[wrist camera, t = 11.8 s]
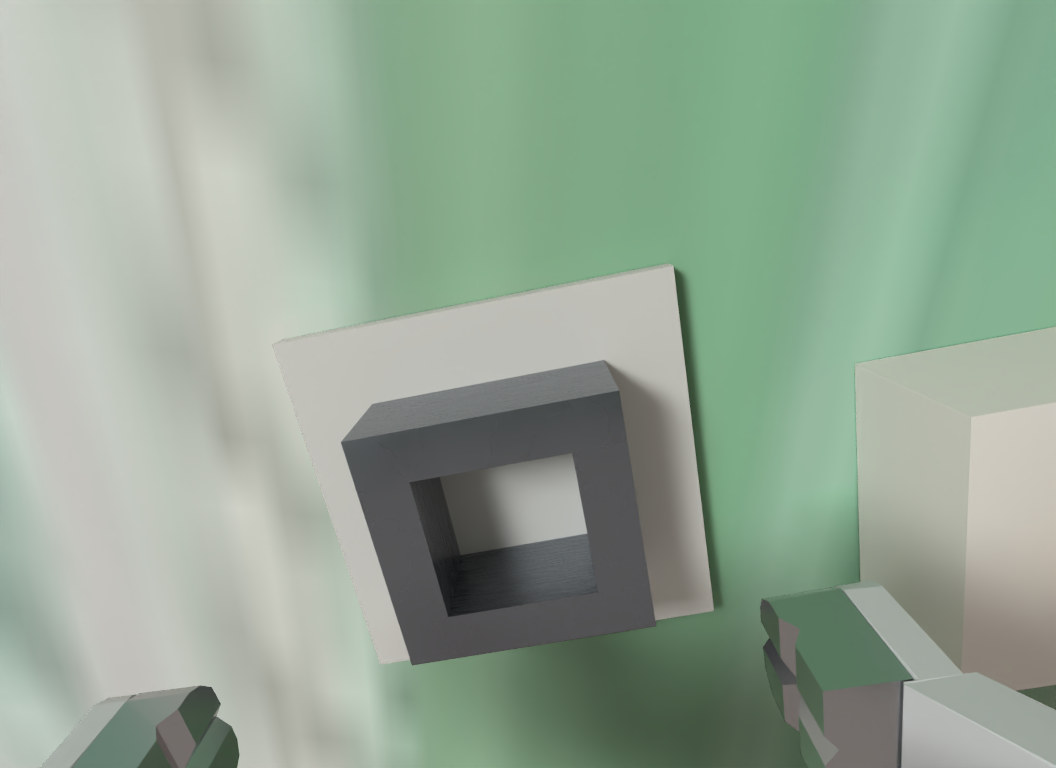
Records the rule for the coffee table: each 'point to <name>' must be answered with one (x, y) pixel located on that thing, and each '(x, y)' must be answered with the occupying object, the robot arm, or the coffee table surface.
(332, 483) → the coaster
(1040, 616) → the peg stand
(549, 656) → the coffee table surface
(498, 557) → the ring
